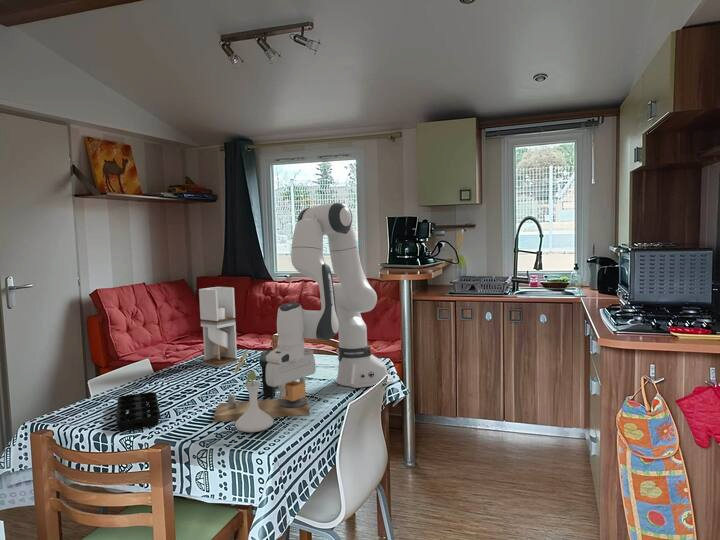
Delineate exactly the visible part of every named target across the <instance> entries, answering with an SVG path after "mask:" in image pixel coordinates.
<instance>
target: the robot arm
mask: <svg viewBox="0 0 720 540" xmlns="http://www.w3.org/2000/svg"><path fill="white" fill-rule="evenodd" d="M293 230H294V231H293V234H292V241H291V248H290V249H291V250H290V251H291V252H290V260H291V261H290V262H291V265H292V266H293V268H294V269H295V270H296V272H298V273H300V274H301V275H303V276H305V277H308V278H310V279H312V280H314V281H315V282H316V284H317V285H318V288H319V295H320V296H319V297H320V306H321V309H320V310H311V309H304V308H303V307H302V305H301V304H300V303H298V302H287V303H283V304H281V305H280V306H279V307H278V309H277V317H276V333H277V337H278V339H277V347H276V348H274V349H272V350H273V351H272V352H270V353H269V354H268V355H267V356H266V361H268V363H267V365H266V383H267V385H268V386H272V387H276V388H278V389H279V392H280V391H281V396H282V397H285V396H288V391H287V390H285V388H284V387H285V383H288V382H291V381H298V380H299V381H298V382H302V383H305V384H306V380H307V377H309V376H311V375H314V374H315V373H316V371H317V370H316V368H317V367H316V359H315V356H314V350H313V349H312V348H311V347H306V348H305V339H315V340H316V339H317V340H322V341H327V342H328V341H330V340H332V339H333V338H334V337H336V335H337V334H338V347H337V360H338V368H337V369H338V370H337V375H336V376H337V377H336V378H335V379H336V380H335V383H336V384H338V385H340V386H345V387H350V388H353V389H354V388H355V389H360V388H366V387H367V388H368V387H374V386H373V385H375V384H376V383H377V382H378V381H379V380H380V379H381V378H383V377H384V376H385V375H387V376H388V379H387V383H386V384H385V385H390V384H393V383H394V376H393V375H391V373H388V369H387V366H386V364H385V363H384V362H383V361H382V360H381V359H379V358H378V357H377V356H375V355H374V353H376V352H375V351H376V350H375V348H374V347H373V346H371V345H370V344H368V333H367V332H368V331H367V330H368V329H367V324H366V323H365V321H364V320H363V317H362V314H361V313H367V312H371V311H372V310H373V309H375V307H376V305H377V302H378V295H377V294H378V293H377V292H376V291H375V289H374V288H373V287H372V286H371V285H370V282H369V281H368V279H367V277H366V274H365V272H364V270H363V267H362V263H361V259H360V252H359V245H358V241H357V236H356V233H355V230H354V227H353V214H352V211H351V209H350V208H349V206H348V205H347V204H345V203H341V202H334V203H323V204H320V205H316V206H312V207H307V208H304V209H302V210H301V211H300V212H299V214H298V217H297V222H296V224H295V227H294V229H293ZM324 236H326V237H327V243H328V249H329V255H330V256H329V257H330V260H331V267H332V269H331V267H330V266H329V264H327V263H326V261H325V259H324V254H323V253H324V252H323V251H324ZM332 271H333V273H334V274H335V275H336V276H337V277H336V278H338V281H339V282H337V283H334V280H333V274H332Z"/></svg>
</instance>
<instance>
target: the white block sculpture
mask: <svg viewBox="0 0 720 540" xmlns="http://www.w3.org/2000/svg"><path fill="white" fill-rule="evenodd" d="M198 298H199V299H198V300H199V313H200V314H199V316H200V327H202V335H203V336H202V337H203V352H204V353H203V354H204V356H203V357H204V359H203V360H202V365H203V366H208V367H213V368H217V369H220V368H224V367H226V366H230V365H233V364H236V363H237V364H238V351H237V350H238V348H237V325H236V305H235V304H236V303H235V288H234V287H229V286H214V287H206V288H199V289H198Z"/></svg>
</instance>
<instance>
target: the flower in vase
mask: <svg viewBox="0 0 720 540" xmlns="http://www.w3.org/2000/svg"><path fill="white" fill-rule="evenodd" d="M248 352H249V350H248V349H245V350H244V352H243V354H242V356H241V358H240V359H239V362H237V366H236V367H235V369H234V371H233V373H234V374H235V375H236V374H237V373H238V372H239V370H240V369H241V367H242V366H243V365H245V367H246V370H247V371H248V373H249V374H248V375H247V378H246V381H245V383H244V385H243V386H245V388H246V390H247V392H248V395H249V396H248V397H249V401H250V407H249V409H248V410H247V411H246V412H245V413H244V414H243V415H242V416H241V417H240V418H239V419H238V420H235V421H236V422H235V425H234V426H235V428H236V429H237V431H240V432H244V433H257V432H262V431H265V430H268V429H269V428H271V427H272V426H273V424H274V422H275V421H274V418H273V417H271V416H270V415H268V414H267V413H265V412H264V411H262V410H261V409H260V408H259V407H258V403H257V401H258V393H259V389H260V387H261V385H262V382H260V381H255V380H256V379H257V376H258V375H257V374H256V372H255V370H254V369H252V370H251V369H250V368H249V366H248V365H247V363H246V361H245V359H246V357H247V354H248ZM250 370H251V371H250Z"/></svg>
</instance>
